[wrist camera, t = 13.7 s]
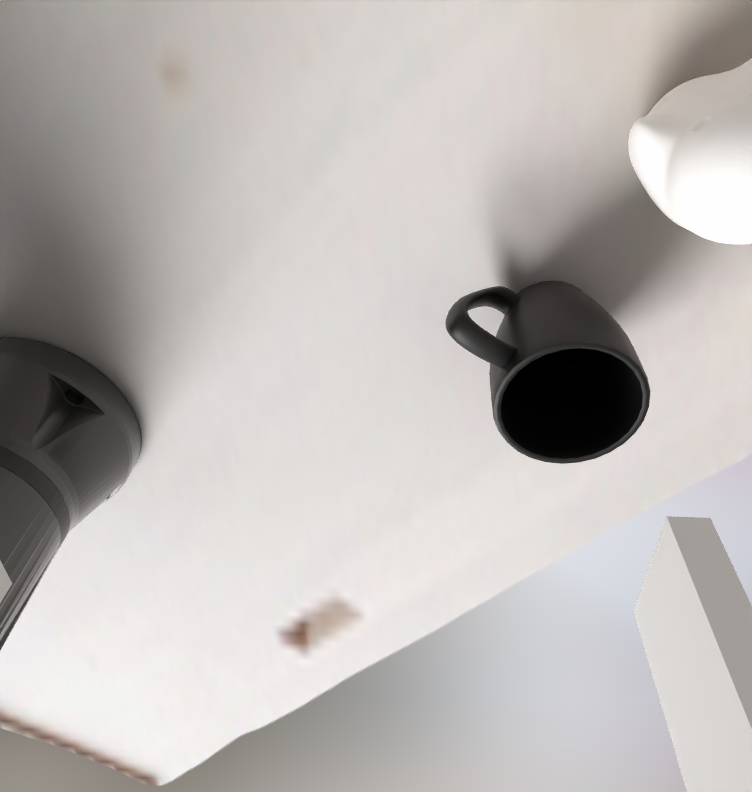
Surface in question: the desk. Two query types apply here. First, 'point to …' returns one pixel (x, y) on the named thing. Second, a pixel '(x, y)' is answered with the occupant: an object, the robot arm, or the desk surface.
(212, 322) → the desk surface
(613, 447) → the mug
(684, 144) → the figurine
